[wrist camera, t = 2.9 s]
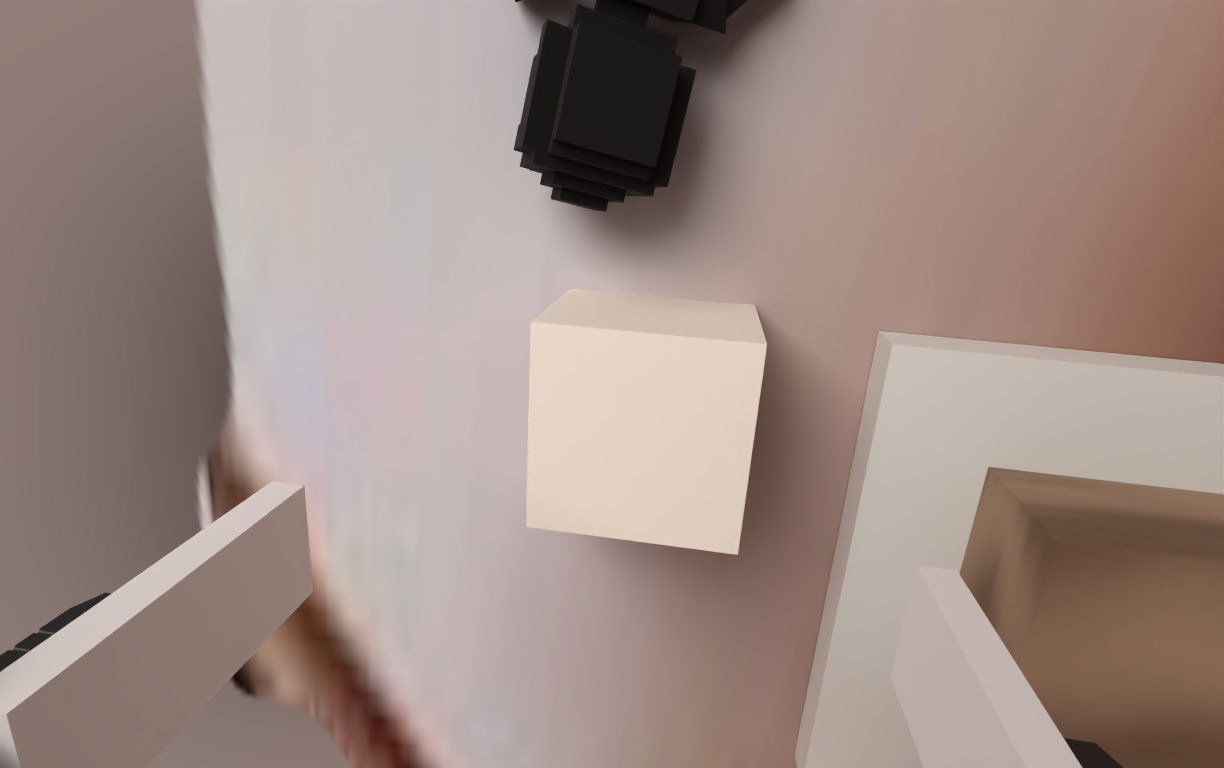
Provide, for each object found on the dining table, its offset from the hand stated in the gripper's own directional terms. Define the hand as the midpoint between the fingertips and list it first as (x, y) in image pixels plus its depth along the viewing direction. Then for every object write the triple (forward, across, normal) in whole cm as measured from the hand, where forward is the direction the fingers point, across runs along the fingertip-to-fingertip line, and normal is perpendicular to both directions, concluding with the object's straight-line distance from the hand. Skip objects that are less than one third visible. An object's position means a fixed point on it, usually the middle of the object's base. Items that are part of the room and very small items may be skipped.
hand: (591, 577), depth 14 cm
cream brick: (+13, 0, 0) cm, 13 cm away
